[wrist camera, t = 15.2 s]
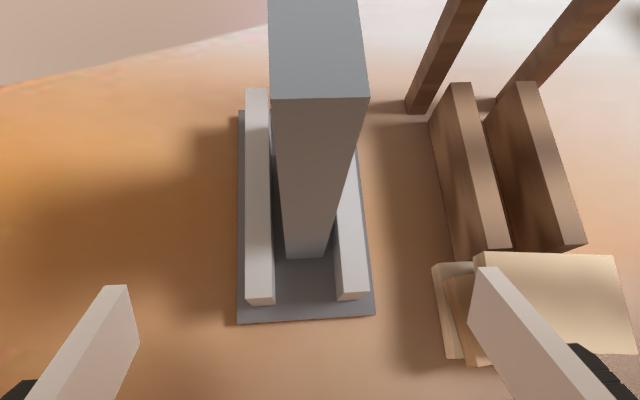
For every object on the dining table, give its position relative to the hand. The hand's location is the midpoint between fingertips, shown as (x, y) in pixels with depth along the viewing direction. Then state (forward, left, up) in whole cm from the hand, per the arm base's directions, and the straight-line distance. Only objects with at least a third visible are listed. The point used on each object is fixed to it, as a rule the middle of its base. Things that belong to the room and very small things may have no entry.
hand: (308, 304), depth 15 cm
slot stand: (+7, -5, -12) cm, 14 cm away
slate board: (+7, -5, -11) cm, 14 cm away
